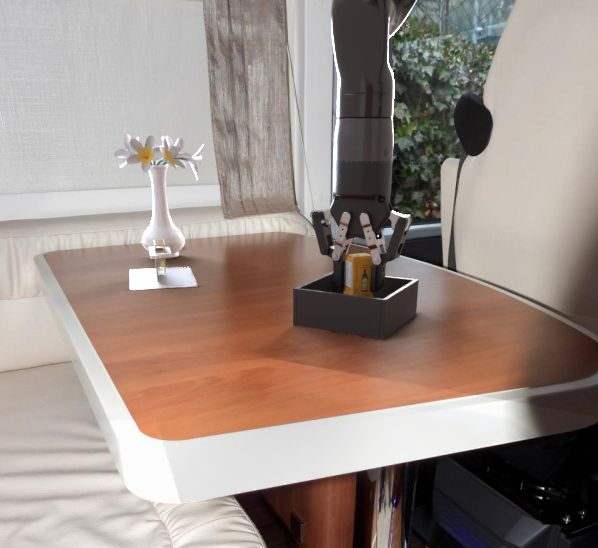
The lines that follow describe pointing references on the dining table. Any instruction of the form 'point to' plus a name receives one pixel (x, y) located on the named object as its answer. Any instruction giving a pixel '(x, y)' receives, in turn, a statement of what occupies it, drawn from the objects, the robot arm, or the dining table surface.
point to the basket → (355, 307)
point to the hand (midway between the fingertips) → (358, 288)
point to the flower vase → (159, 184)
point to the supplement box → (357, 274)
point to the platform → (161, 273)
